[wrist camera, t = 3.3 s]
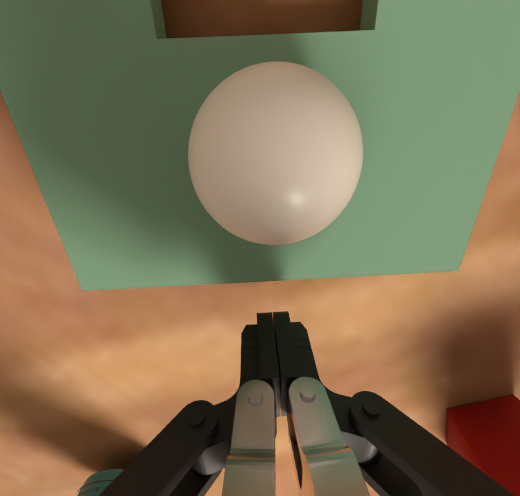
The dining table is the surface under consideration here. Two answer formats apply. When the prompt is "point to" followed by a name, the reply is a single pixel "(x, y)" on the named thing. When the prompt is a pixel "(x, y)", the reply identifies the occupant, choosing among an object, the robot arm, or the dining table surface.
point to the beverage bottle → (98, 482)
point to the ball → (275, 153)
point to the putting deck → (193, 96)
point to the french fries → (489, 438)
